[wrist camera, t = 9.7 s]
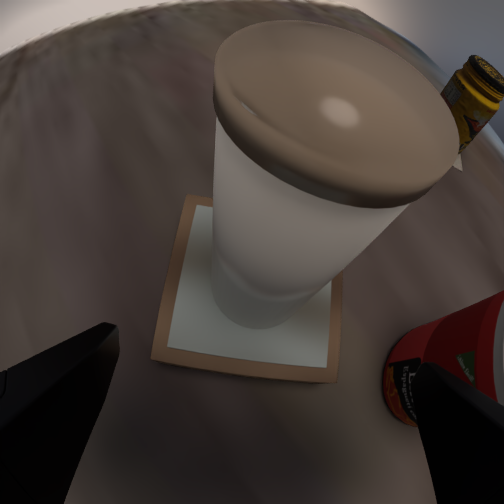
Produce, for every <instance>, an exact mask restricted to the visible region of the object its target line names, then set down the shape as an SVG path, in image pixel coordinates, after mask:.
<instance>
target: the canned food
mask: <svg viewBox="0 0 504 504" xmlns="http://www.w3.org/2000/svg"><path fill="white" fill-rule="evenodd" d="M423 362H434V363H436V364H438V365H439V366H441V367H442V368H444V369H446V370H447V371H449V372H450V373H452V374H454V375H455V376H457V377H458V378H460V379H461V380H463V381H465V382H466V383H468V384H469V385H471V386H473V387H474V388H476V389H477V390H479V391H480V392H482V393H484V394H485V395H487V396H488V397H490V398H492V399H493V400H495V401H496V402H498V403H499V404H501V405H503V406H504V290H503V291H501V292H499V293H497V294H495V295H493V296H491V297H489V298H487V299H484V300H482V301H480V302H478V303H475V304H473V305H471V306H469V307H466V308H464V309H462V310H459V311H457V312H455V313H452V314H450V315H447V316H445V317H442V318H440V319H437V320H435V321H432V322H430V323H427V324H424V325H422V326H419V327H417V328H415V329H413V330H411V331H410V332H409V333H407V334H406V335H405V336H404V337H403V338H402V339H401V340H400V341H399V342H398V343H397V344H396V345H395V347H394V348H393V350H392V352H391V353H390V355H389V358H388V360H387V362H386V366H385V370H384V377H383V388H384V395H385V399H386V402H387V404H388V406H389V408H390V410H391V411H392V412H393V413H394V415H395V416H397V417H398V418H399V419H401V420H402V421H403V422H405V423H406V424H408V425H411V426H414V427H418V425H417V420H416V415H415V410H414V405H413V400H412V396H411V391H410V383H411V380H412V379H413V377H414V375H415V373H416V372H417V370H418V368H419V366H420V365H421V364H422V363H423Z"/></svg>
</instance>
